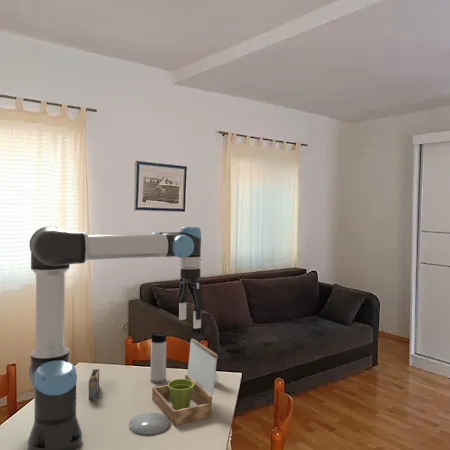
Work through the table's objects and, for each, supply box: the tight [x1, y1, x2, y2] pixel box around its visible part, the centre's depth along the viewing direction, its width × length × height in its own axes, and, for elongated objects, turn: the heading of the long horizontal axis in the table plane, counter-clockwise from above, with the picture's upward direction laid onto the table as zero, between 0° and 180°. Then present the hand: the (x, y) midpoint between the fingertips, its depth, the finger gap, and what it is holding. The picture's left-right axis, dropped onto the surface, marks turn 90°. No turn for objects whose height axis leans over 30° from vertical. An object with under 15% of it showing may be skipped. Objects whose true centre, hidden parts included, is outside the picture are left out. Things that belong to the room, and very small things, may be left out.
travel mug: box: [150, 332, 167, 384], centre depth 181 cm, size 6×7×20 cm
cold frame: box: [151, 374, 213, 426], centre depth 157 cm, size 14×22×7 cm, turn 28°
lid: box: [187, 338, 219, 396], centre depth 161 cm, size 14×21×1 cm
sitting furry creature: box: [195, 371, 220, 387], centre depth 180 cm, size 10×9×12 cm
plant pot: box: [167, 378, 194, 410], centre depth 157 cm, size 9×9×9 cm
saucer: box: [128, 412, 170, 436], centre depth 145 cm, size 13×13×1 cm
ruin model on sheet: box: [88, 368, 100, 400], centre depth 168 cm, size 11×3×10 cm, turn 10°
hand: (189, 323), depth 166 cm, fingers open, 13 cm apart
